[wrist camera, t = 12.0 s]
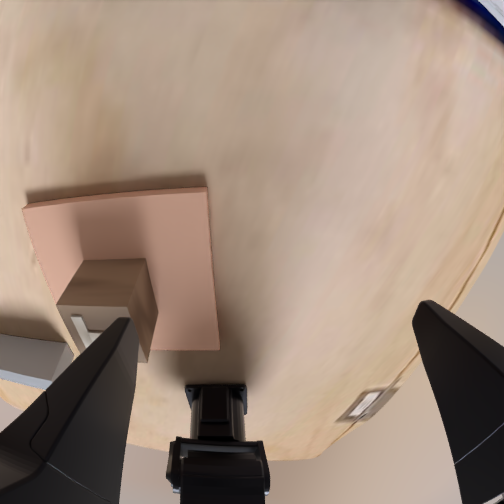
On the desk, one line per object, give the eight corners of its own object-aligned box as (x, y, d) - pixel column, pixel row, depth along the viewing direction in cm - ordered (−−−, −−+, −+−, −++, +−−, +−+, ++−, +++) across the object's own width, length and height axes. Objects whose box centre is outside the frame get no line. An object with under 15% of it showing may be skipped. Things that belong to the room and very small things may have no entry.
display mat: (219, 341, 26) (219, 350, 25) (79, 337, 25) (76, 345, 24) (207, 186, 19) (206, 192, 18) (28, 203, 18) (21, 209, 17)
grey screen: (74, 355, 27) (60, 392, 22) (-8, 342, 26) (-24, 370, 21) (66, 343, 25) (51, 380, 21) (-15, 331, 25) (-32, 359, 20)
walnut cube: (158, 312, 22) (146, 364, 18) (101, 311, 22) (82, 359, 18) (145, 258, 20) (126, 308, 15) (83, 260, 20) (54, 306, 15)
